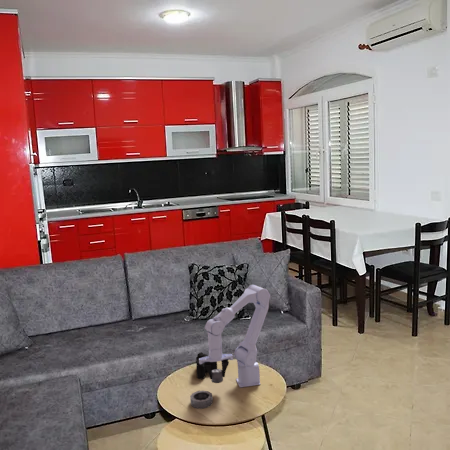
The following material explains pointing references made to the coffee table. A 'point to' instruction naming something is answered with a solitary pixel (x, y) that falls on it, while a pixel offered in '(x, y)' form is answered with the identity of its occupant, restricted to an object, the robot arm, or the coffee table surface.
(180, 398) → the coffee table surface
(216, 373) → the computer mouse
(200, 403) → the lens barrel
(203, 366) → the film camera
